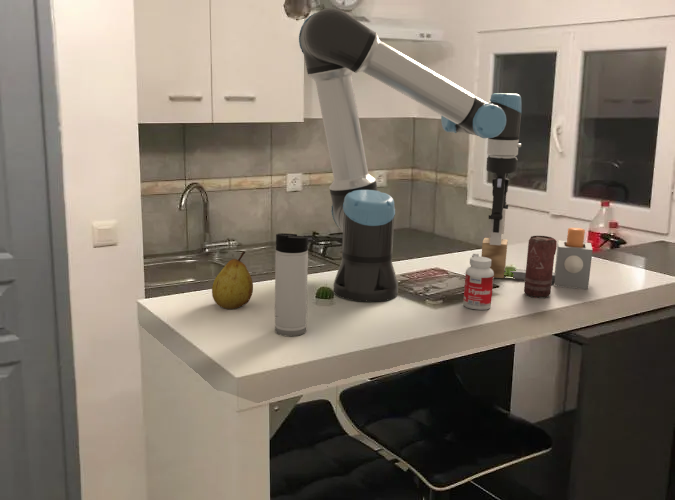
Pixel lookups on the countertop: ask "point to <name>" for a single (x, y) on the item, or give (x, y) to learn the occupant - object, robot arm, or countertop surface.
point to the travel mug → (291, 284)
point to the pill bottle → (478, 284)
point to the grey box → (573, 265)
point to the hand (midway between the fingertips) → (497, 239)
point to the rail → (519, 272)
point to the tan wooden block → (495, 256)
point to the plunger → (575, 237)
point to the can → (539, 266)
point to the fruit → (232, 285)
